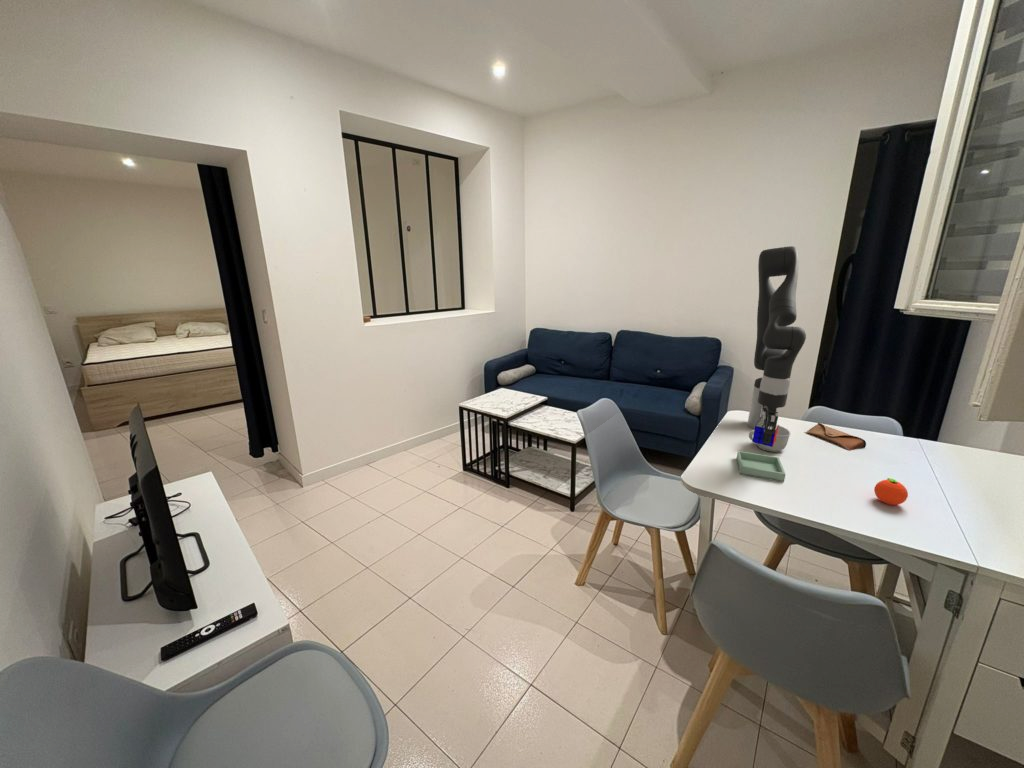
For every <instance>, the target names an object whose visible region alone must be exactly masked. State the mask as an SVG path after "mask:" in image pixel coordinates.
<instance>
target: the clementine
mask: <svg viewBox="0 0 1024 768" xmlns="http://www.w3.org/2000/svg"><path fill="white" fill-rule="evenodd" d="M873 492H874V494H875V495H874V496H876V498H877V499H878V500H879V501H880V502H882V503H884V504H887V505H891V506H898V505H901V504H903V503H905V502H906V501H907V499H908V497H909V493H908V489H907V488H906V487H905V485H904V484H902V483H901V482H900V481H897V480H896V479H894V478H889V477H887V479H883V480H881V481H879V482H877V483H876V485H874V491H873Z"/></svg>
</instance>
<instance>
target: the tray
mask: <svg viewBox="0 0 1024 768" xmlns="http://www.w3.org/2000/svg"><path fill="white" fill-rule="evenodd" d="M736 461H737V467H738V471H739V475H742V476H746V477H747V476H748V477H753V478H758V479H759V478H760V479H764V480H769V481H770V480H771V481H776V482H780V483H781V482H782V483H784V482H785V479H786V475H787V474H786V472H785V470H784V467H783V464H782V462H781V460H780V457H779V456H772V455H766V454H759V453H755V452H754V453H753V452H748V451H742V450H737V454H736Z"/></svg>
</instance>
